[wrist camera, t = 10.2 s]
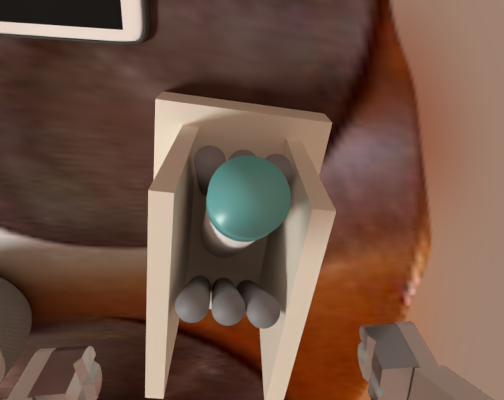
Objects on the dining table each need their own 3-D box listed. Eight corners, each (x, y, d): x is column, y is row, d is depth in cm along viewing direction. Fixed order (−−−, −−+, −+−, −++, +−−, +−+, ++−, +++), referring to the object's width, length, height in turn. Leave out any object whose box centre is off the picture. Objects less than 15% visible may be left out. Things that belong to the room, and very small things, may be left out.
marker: (251, 255, 25) (297, 231, 15) (202, 262, 25) (213, 242, 14) (244, 208, 26) (283, 152, 15) (196, 213, 25) (203, 158, 15)
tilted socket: (287, 274, 31) (312, 414, 20) (157, 261, 30) (111, 401, 19) (324, 113, 25) (389, 189, 14) (163, 91, 24) (99, 154, 13)
